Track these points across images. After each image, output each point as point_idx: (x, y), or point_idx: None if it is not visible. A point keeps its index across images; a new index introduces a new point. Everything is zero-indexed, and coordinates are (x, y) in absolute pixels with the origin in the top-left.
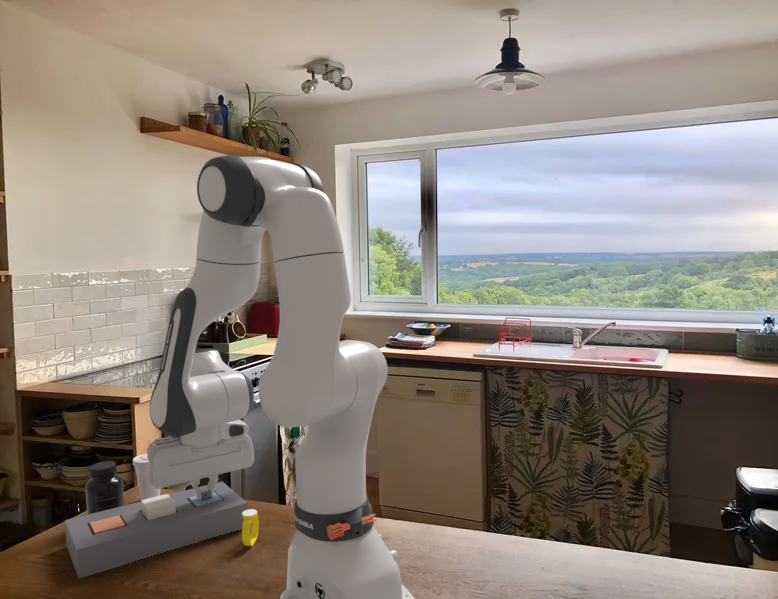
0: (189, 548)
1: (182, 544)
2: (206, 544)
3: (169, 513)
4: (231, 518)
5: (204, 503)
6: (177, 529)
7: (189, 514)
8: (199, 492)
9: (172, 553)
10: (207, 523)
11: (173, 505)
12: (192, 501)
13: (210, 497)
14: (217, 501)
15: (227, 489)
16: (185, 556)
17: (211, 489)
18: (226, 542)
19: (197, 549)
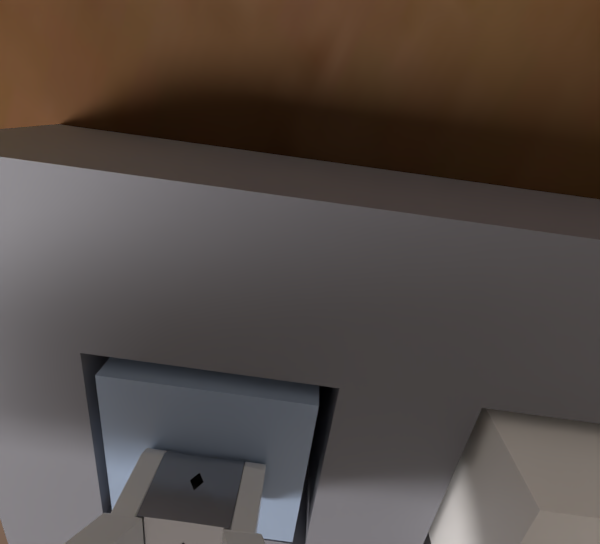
0: (466, 140)
1: (494, 186)
2: (366, 109)
3: (547, 433)
4: (127, 151)
5: (249, 400)
6: (591, 221)
7: (450, 314)
8: (247, 529)
9: (570, 157)
10: (328, 183)
11: (541, 484)
12: (302, 484)
13: (168, 451)
14: (141, 374)
15: (13, 484)
16: (552, 47)
17: (126, 513)
18: (256, 27)
19: (443, 85)
